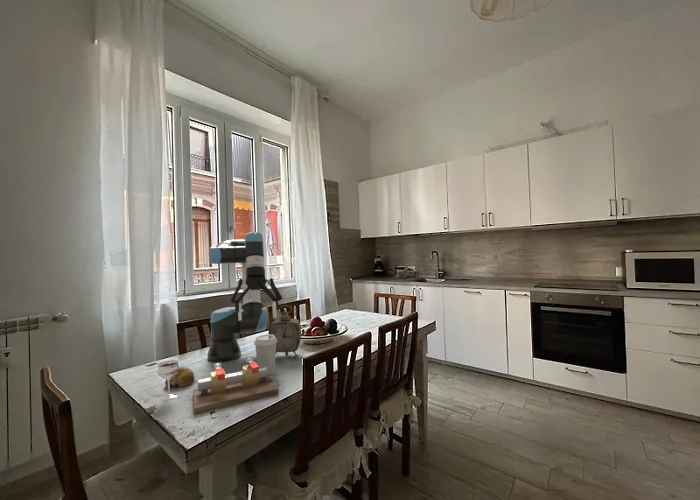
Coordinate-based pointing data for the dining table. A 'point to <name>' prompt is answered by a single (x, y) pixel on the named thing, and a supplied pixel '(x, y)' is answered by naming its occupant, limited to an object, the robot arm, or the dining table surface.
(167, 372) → the wineglass
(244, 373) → the manifold pipe
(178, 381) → the bread roll
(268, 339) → the coffee cup
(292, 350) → the tabletop clock
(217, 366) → the valve lever
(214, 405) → the valve board
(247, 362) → the valve lever
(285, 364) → the dining table surface
